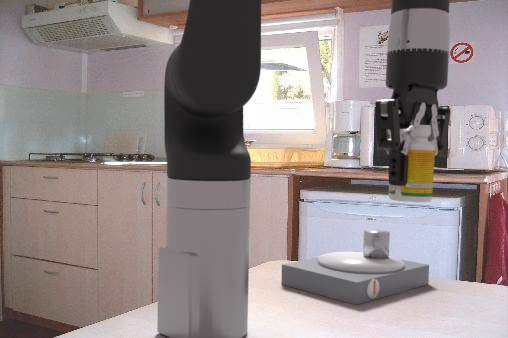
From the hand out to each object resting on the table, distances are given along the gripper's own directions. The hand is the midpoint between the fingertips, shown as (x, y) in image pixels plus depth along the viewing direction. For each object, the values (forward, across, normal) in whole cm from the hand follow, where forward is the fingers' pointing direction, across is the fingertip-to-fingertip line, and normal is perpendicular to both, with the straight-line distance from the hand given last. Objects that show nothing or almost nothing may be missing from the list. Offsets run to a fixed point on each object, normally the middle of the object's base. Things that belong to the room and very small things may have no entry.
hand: (411, 184), depth 73 cm
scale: (+16, +6, +13) cm, 22 cm away
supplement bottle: (+2, 0, 0) cm, 2 cm away
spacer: (+13, +11, +13) cm, 21 cm away
